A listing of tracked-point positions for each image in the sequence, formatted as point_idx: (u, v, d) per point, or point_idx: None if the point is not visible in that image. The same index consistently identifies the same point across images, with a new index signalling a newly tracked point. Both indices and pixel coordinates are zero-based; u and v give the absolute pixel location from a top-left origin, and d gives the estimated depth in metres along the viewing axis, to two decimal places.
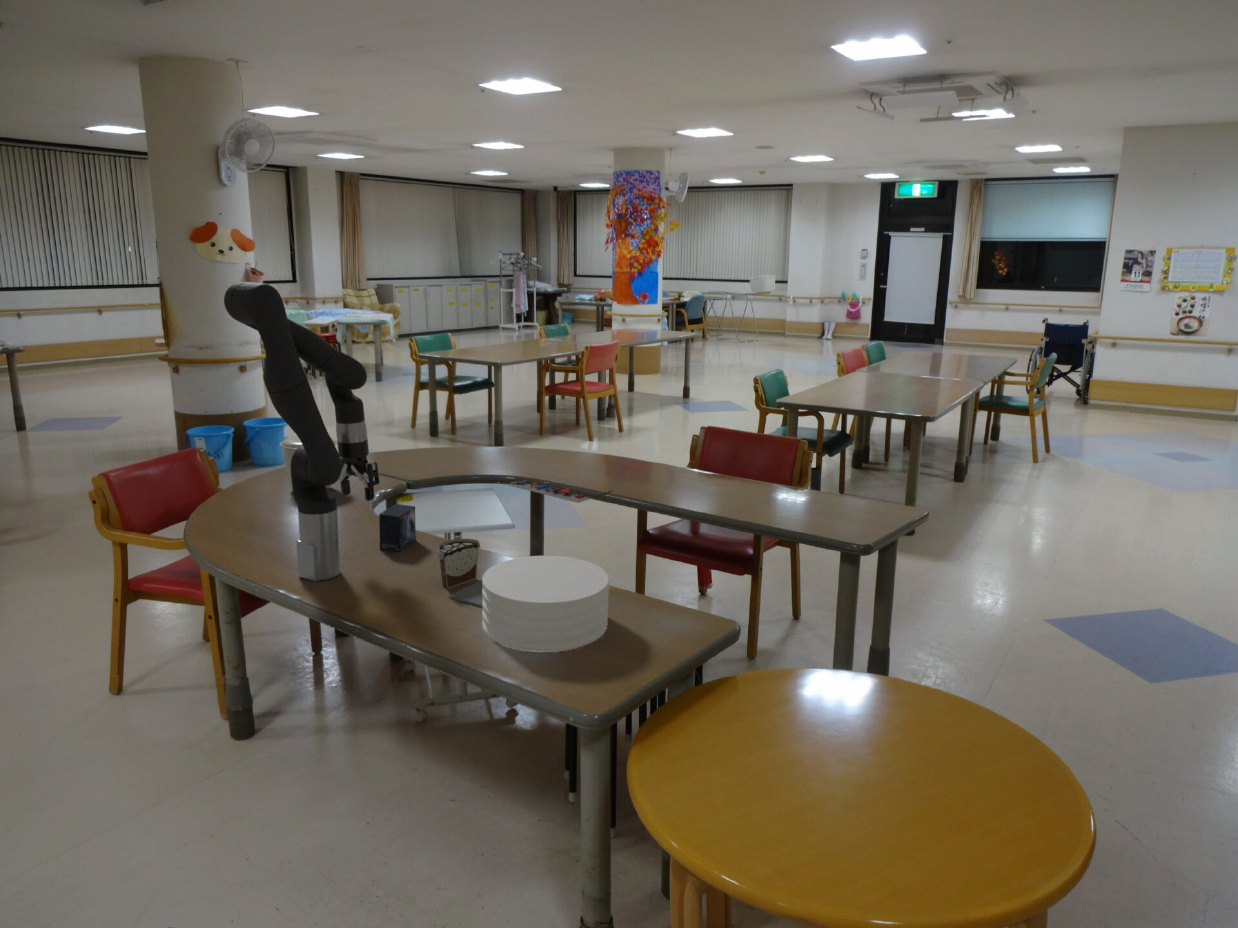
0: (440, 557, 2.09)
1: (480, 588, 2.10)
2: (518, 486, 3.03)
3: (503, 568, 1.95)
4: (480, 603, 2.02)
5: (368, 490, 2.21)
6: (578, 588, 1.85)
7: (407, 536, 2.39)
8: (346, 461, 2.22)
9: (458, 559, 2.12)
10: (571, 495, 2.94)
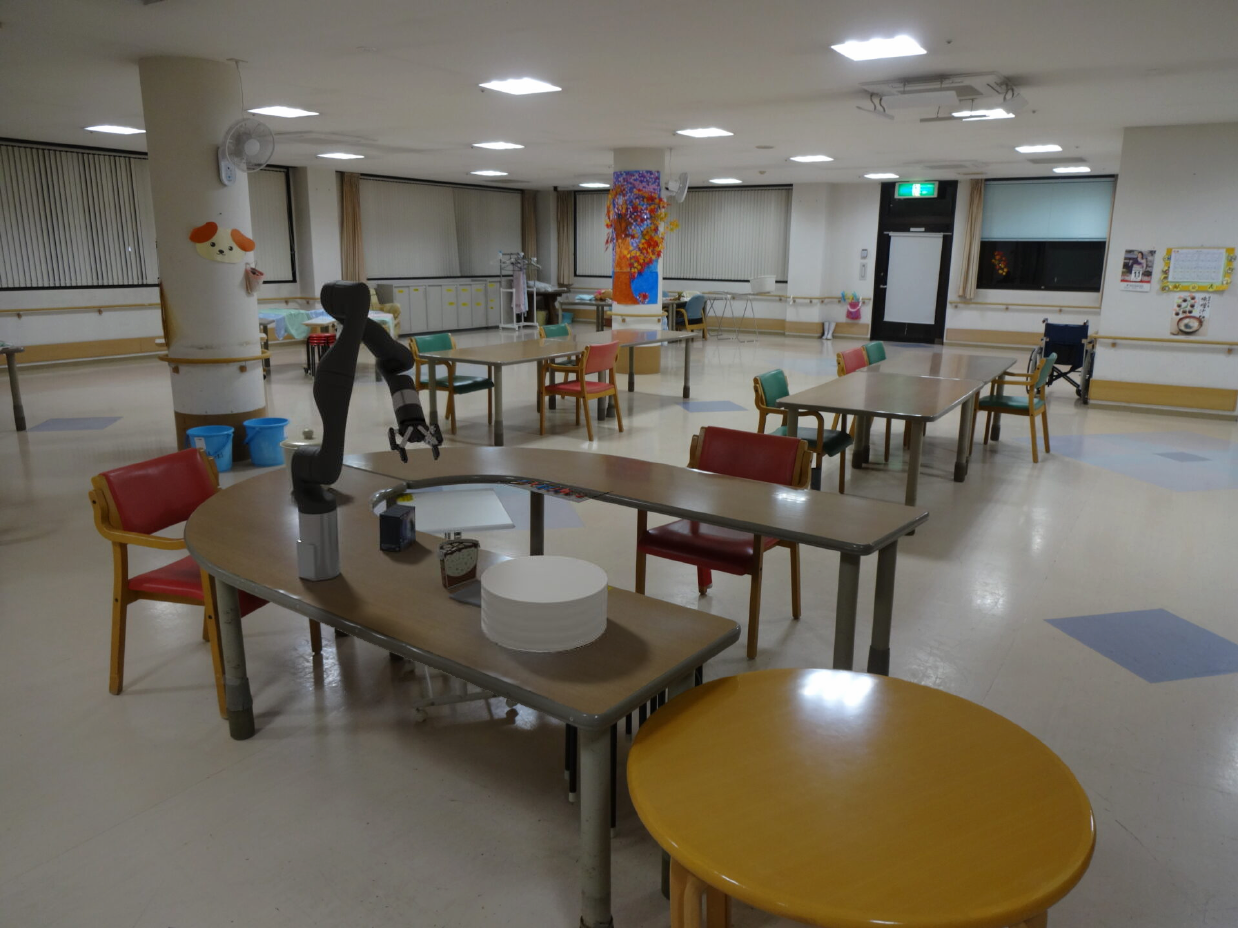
0: (440, 557, 2.09)
1: (480, 588, 2.10)
2: (518, 486, 3.03)
3: (501, 568, 1.95)
4: (480, 603, 2.02)
5: (437, 447, 2.33)
6: (577, 588, 1.85)
7: (407, 536, 2.39)
8: (407, 427, 2.32)
9: (458, 559, 2.12)
10: (571, 495, 2.94)
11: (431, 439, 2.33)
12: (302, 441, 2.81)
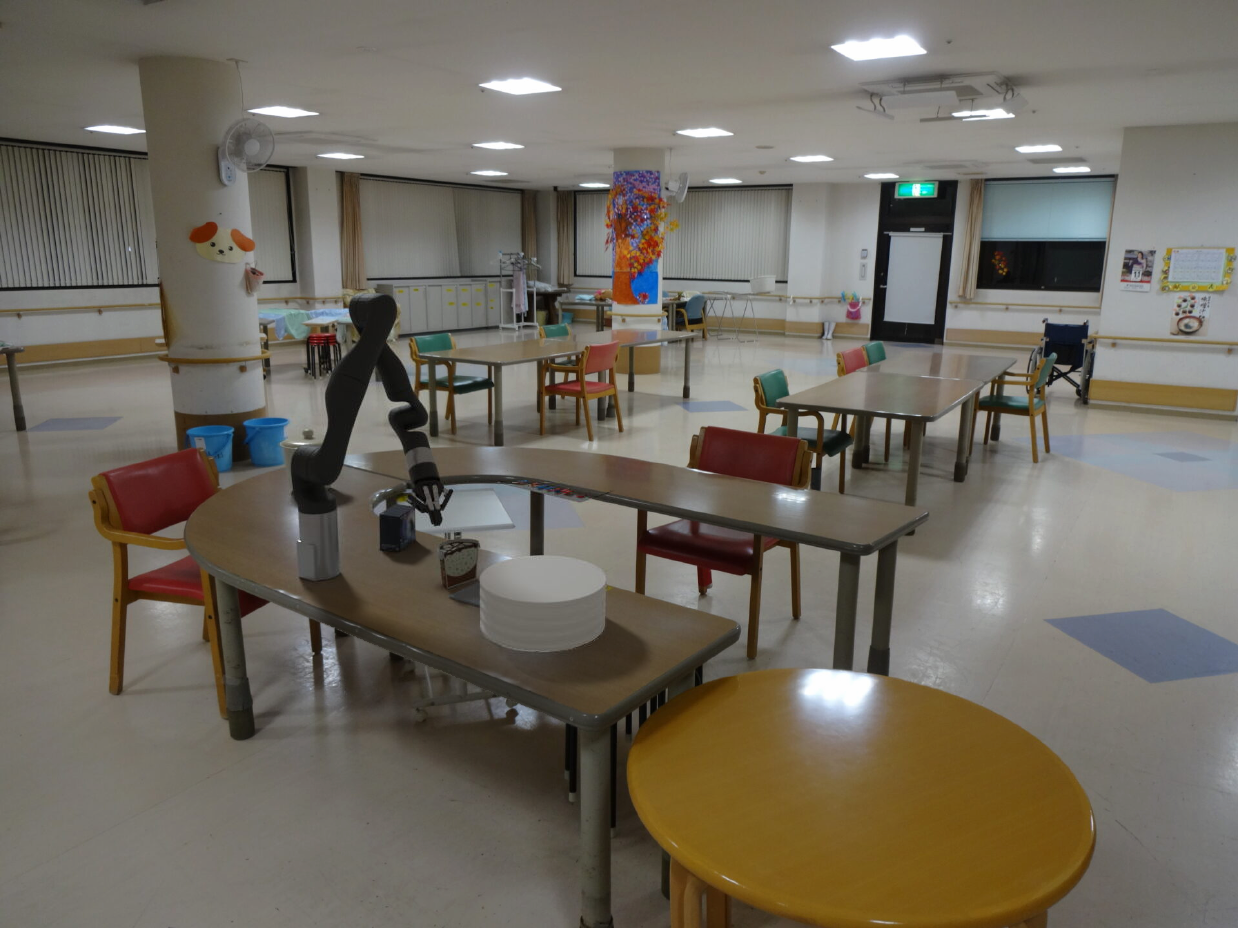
0: (440, 557, 2.09)
1: None
2: (519, 486, 3.03)
3: (500, 568, 1.95)
4: None
5: (439, 512, 2.24)
6: (575, 588, 1.85)
7: (407, 536, 2.39)
8: (422, 487, 2.25)
9: (458, 559, 2.12)
10: (573, 495, 2.94)
11: (436, 502, 2.24)
12: (302, 441, 2.81)
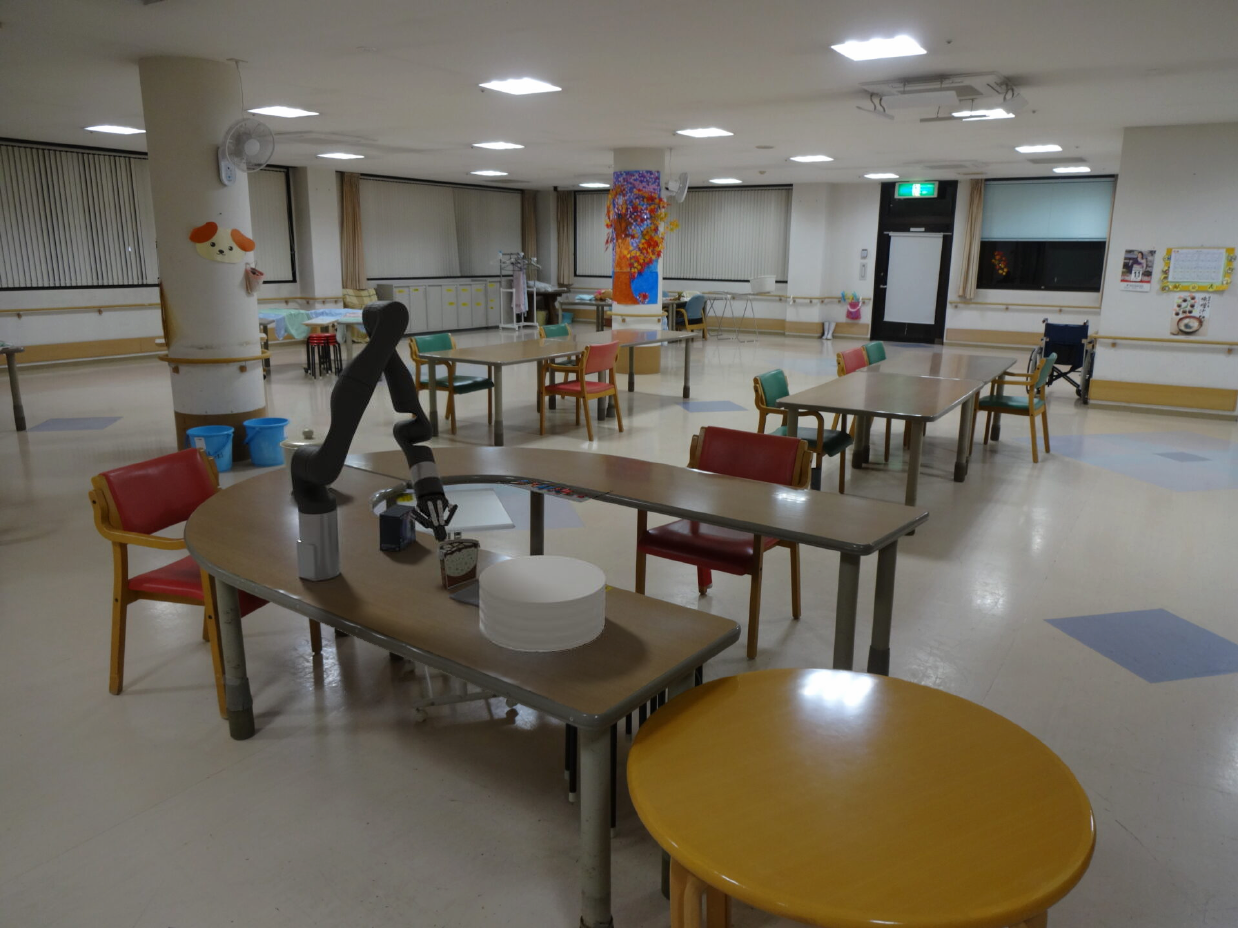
0: (440, 557, 2.09)
1: None
2: (519, 486, 3.03)
3: (500, 568, 1.95)
4: None
5: (443, 528, 2.21)
6: (575, 588, 1.85)
7: (407, 536, 2.39)
8: (426, 502, 2.23)
9: (458, 559, 2.12)
10: (573, 495, 2.94)
11: (441, 518, 2.22)
12: (302, 441, 2.81)
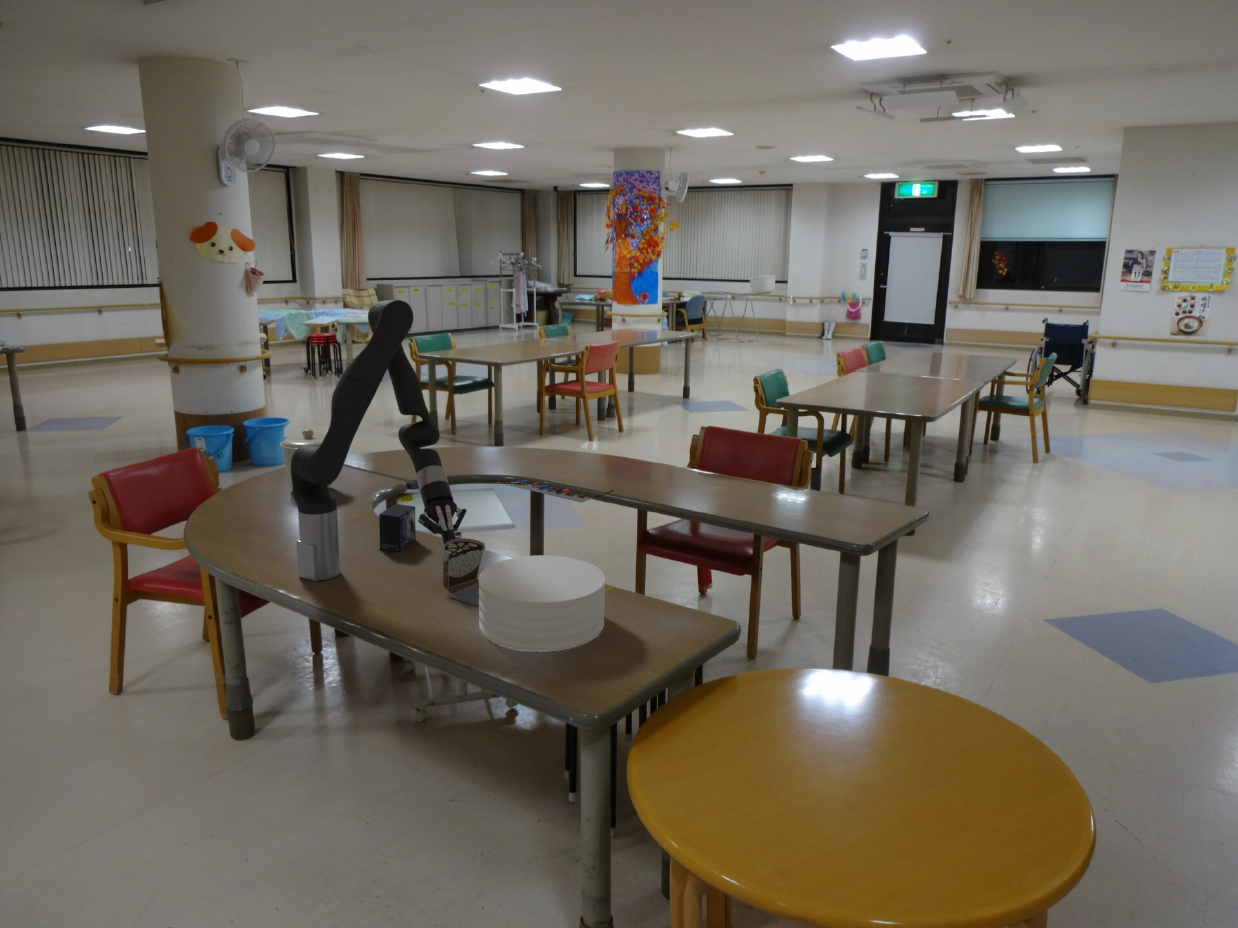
0: (444, 559, 2.08)
1: None
2: (520, 486, 3.03)
3: (499, 568, 1.95)
4: None
5: (452, 533, 2.17)
6: (574, 588, 1.85)
7: (407, 536, 2.39)
8: (434, 506, 2.18)
9: (462, 561, 2.12)
10: (573, 495, 2.94)
11: (449, 523, 2.17)
12: (302, 441, 2.81)
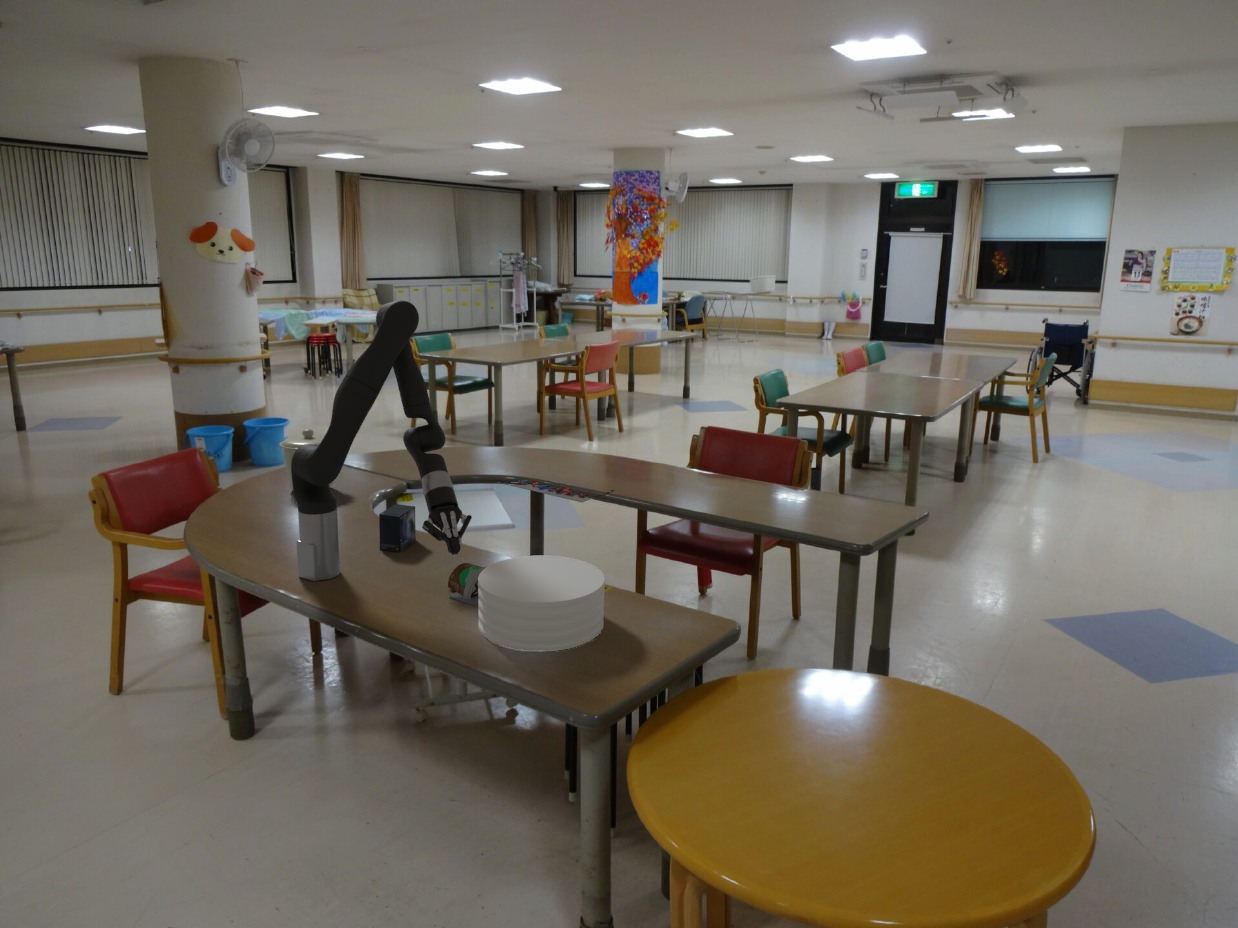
0: (464, 595, 2.04)
1: None
2: (520, 486, 3.02)
3: (499, 568, 1.95)
4: None
5: (457, 540, 2.13)
6: (574, 588, 1.85)
7: (407, 536, 2.39)
8: (439, 513, 2.14)
9: None
10: (574, 495, 2.94)
11: (454, 529, 2.13)
12: (302, 441, 2.81)
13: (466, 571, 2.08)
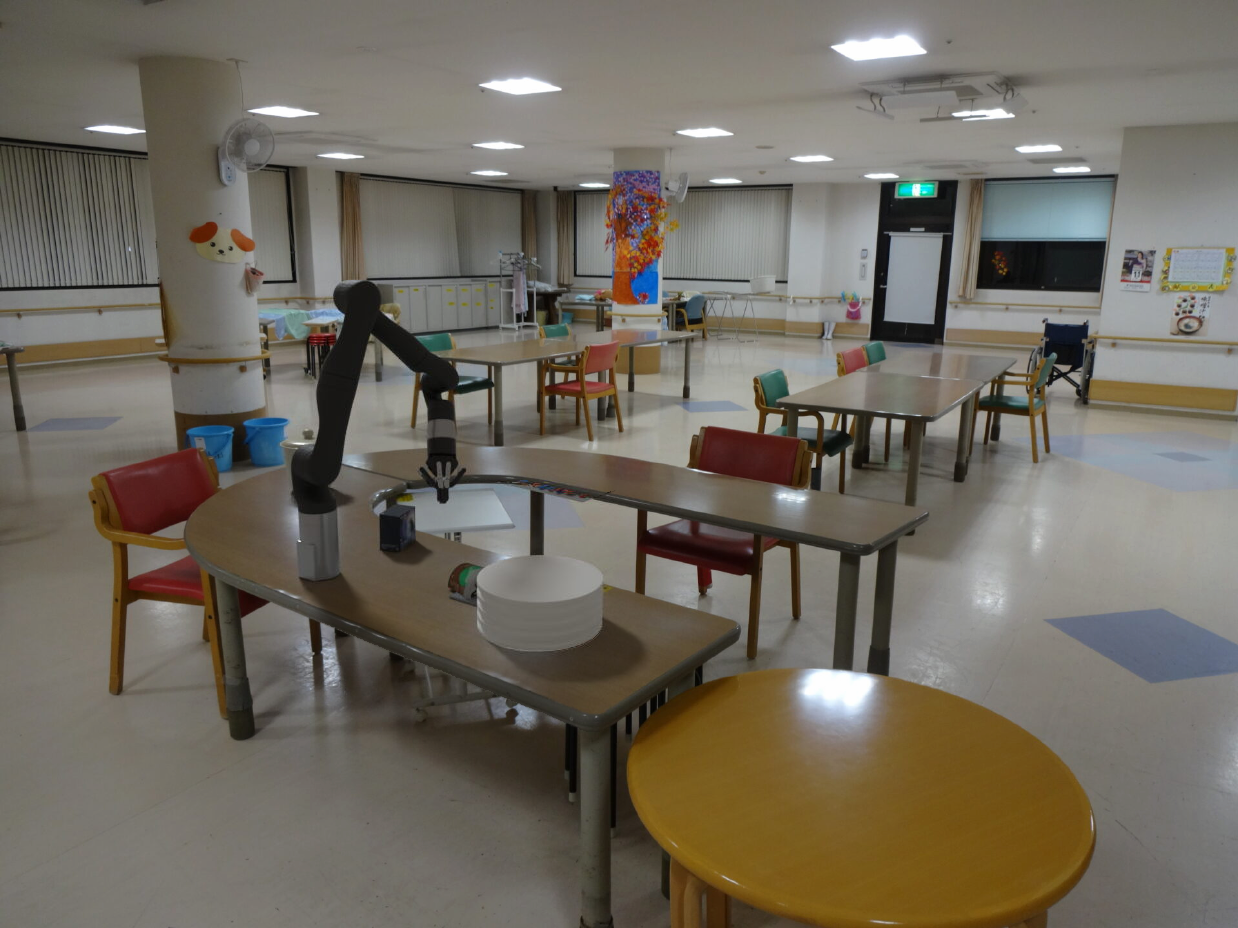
0: (464, 595, 2.04)
1: None
2: (520, 486, 3.03)
3: (497, 568, 1.95)
4: None
5: (447, 491, 2.24)
6: (572, 588, 1.85)
7: (407, 536, 2.39)
8: (436, 461, 2.25)
9: None
10: (574, 495, 2.94)
11: (446, 480, 2.24)
12: (302, 441, 2.81)
13: (466, 571, 2.08)
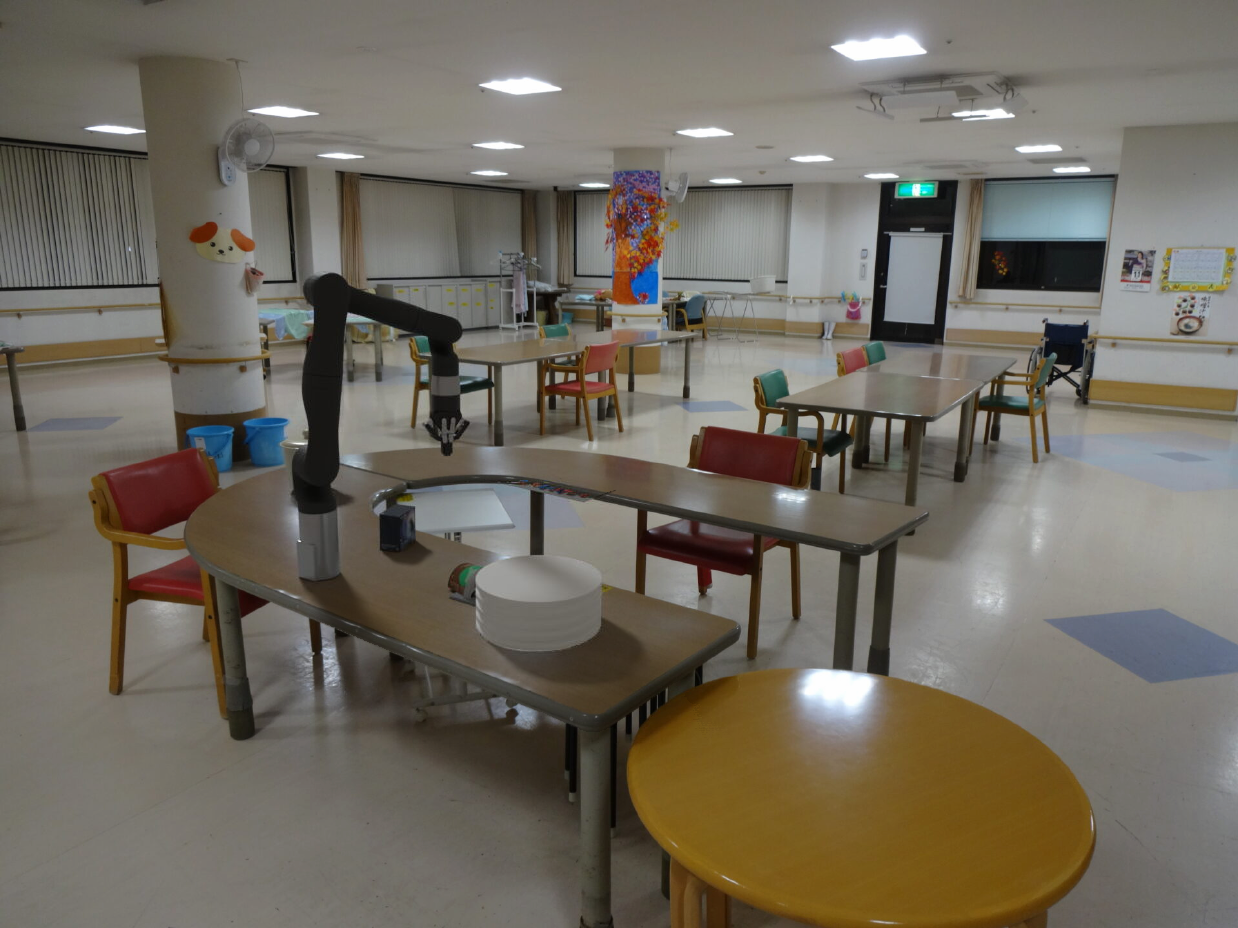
0: (464, 595, 2.04)
1: None
2: (521, 486, 3.02)
3: (496, 567, 1.95)
4: None
5: (451, 445, 2.30)
6: (571, 587, 1.85)
7: (407, 536, 2.39)
8: (441, 416, 2.27)
9: None
10: (575, 494, 2.95)
11: (451, 435, 2.29)
12: (302, 441, 2.81)
13: (466, 571, 2.08)
